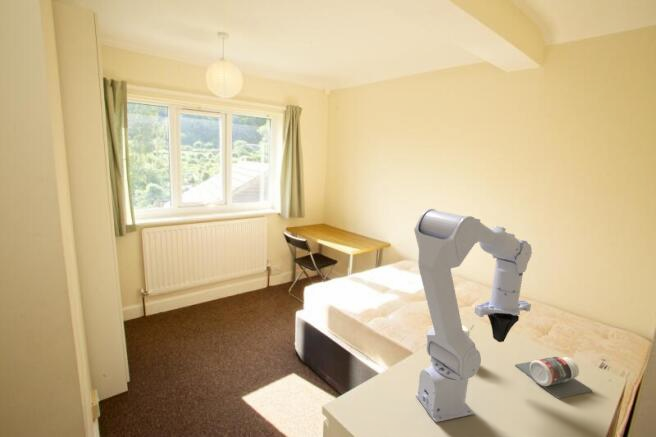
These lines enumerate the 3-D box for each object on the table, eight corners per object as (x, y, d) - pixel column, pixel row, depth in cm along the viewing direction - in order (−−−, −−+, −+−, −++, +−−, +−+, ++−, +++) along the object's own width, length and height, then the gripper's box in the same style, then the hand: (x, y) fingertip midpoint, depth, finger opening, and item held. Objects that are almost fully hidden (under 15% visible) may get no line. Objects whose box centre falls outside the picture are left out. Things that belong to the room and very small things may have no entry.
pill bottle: (540, 357, 76) (570, 351, 79) (524, 364, 80) (553, 358, 83) (555, 383, 72) (586, 376, 75) (538, 389, 77) (568, 382, 79)
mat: (557, 398, 73) (558, 397, 73) (514, 365, 84) (515, 364, 84) (591, 391, 75) (592, 389, 75) (545, 360, 87) (545, 359, 87)
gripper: (493, 297, 69) (485, 353, 71) (545, 291, 73) (536, 345, 75) (471, 284, 75) (464, 336, 78) (519, 280, 79) (512, 329, 82)
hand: (498, 339), depth 77 cm, fingers closed
